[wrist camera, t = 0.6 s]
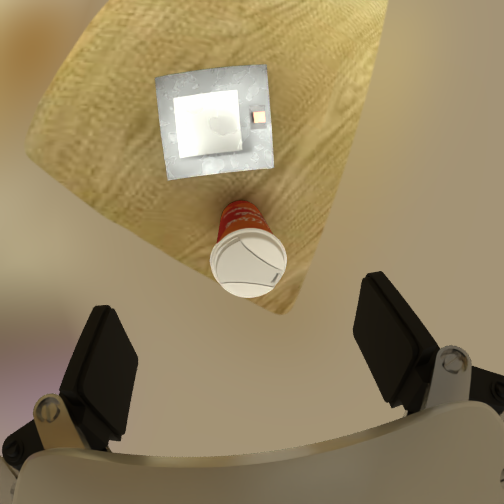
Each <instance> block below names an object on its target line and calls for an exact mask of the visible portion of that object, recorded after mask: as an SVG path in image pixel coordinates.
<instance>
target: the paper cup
mask: <svg viewBox="0 0 504 504" xmlns="http://www.w3.org/2000/svg"><path fill="white" fill-rule="evenodd" d="M286 263H287V256H286V251H285V249H284V247H283V245H282V243H281V242H280V240H279V239H278V238H277V237H276V236H274V235H273V233H272V232H271V230H270V228H269V226H268V225H267V223H266V221H265V220H264V218H263V216H262V215H261V213H260V211H259V210H258V209H257V207H256V206H255V205H253V204H252V203H250V202H248V201H235V202H232V203H231V204H229V205H228V206H227V207H226V208H225V209H224V211H223V213H222V216H221V220H220V226H219V232H218V238H217V244H216V245H215V246H214V248H213V250H212V252H211V256H210V264H211V268H212V272H213V275H214V277H215V278H216V280H217V281H218V283H219V284H220V285H221V286H222V287H223V288H224V289H225V290H227V291H228V292H229V293H231V294H233V295H236V296H239V297H245V298H252V297H258V296H261V295H264V294H266V293H268V292H269V291H271V290H272V289H273V288H275V285H276V284H277V283H278V281H279V280H280V278H281V277H282V275H283V273H284V271H285V268H286Z"/></svg>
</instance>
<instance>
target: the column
mask: <svg viewBox="0 0 504 504" xmlns="http://www.w3.org/2000/svg"><path fill="white" fill-rule="evenodd" d="M173 101H174V111H175V120H176V128H177V136H178V144H179V152H180V158H184V157H190V156H197V155H205V154H213V153H221V152H230V151H240V150H242V140H241V129H240V117H239V106H238V95H237V90H232V91H222V92H213V93H205V94H197V95H190V96H184V97H178V98H173Z"/></svg>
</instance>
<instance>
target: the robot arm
mask: <svg viewBox="0 0 504 504" xmlns="http://www.w3.org/2000/svg"><path fill="white" fill-rule="evenodd" d="M353 335H354V338H355V340H356V342H357V344H358V346H359V348H360V350H361V352H362V354H363V356H364V358H365V360H366V362H367V364H368V366H369V368H370V371H371V373H372V375H373V377H374V379H375V381H376V383H377V386H378V388H379V390H380V392H381V394H382V396H383V399H384V400H385V402H387V403H388V402H389V403H390V406H391V408H394V407H397V406H400V405H403V407H404V409H405V413H404V416H403V418H400V419H398V420H395V421H392V422H389V423H386V424H383V425H380V426H377V427H374V428H370V429H368V430H364V431H361V432H357V433H354V434H351V435H347V436H343V437H340V438H336V439H332V440H328V441H323V442H319V443H314V444H310V445H305V446H299V447H294V448H288V449H282V450H276V451H269V452H261V453H253V454H243V455H231V456H215V457H158V456H143V455H130V454H121V453H112V452H111V450H110V448H109V447H108V442H109V440H113V441H121V436H122V435H123V434H125V431H126V425H127V418H128V413H129V407H130V401H131V396H132V391H133V386H134V381H135V375H136V371H137V366H138V356H137V354H136V352H135V350H134V348H133V346H132V344H131V342H130V341H129V338H128V336H127V334H126V332H125V330H124V328H123V326H122V324H121V322H120V320H119V318H118V315H117V313H116V311H115V310H114V309H111V307H110V306H109V305H101V306H95V307H94V308H93V310H92V312H91V314H90V316H89V318H88V320H87V323H86V325H85V327H84V329H83V331H82V334H81V336H80V338H79V340H78V343H77V345H76V347H75V350H74V352H73V355H72V357H71V359H70V362H69V364H68V367H67V370H66V372H65V375H64V378H63V380H62V383H61V386H60V389H59V390H60V394H59V396H58V395H56V394H46V395H44V396H42V397H41V398H40V399H39V400H38V401H37V402H36V404H35V406H34V410H33V417H34V419H33V420H32V421H30V422H29V423H27V424H26V425H25V426H23V427H21V428H20V429H18V430H17V431H16V432H14V433H13V434H11V435H10V436H8V437H7V438H6V440H5V441H4V443H3V447H2V454H3V457H1V456H0V504H504V376H503V375H500V374H496V373H493V372H490V371H487V370H484V369H480V368H478V367H474V366H472V364H471V359H470V357H469V355H468V354H467V353H466V351H464V350H463V349H462V348H460V347H457V346H452V345H449V346H445V347H443V348H441V349H440V348H439V346H438V345H437V343H436V342H435V340H434V339H433V337H432V336H431V334H430V333H429V332H428V330H427V329H426V327H425V326H424V325H423V323H422V322H421V321H420V319H419V318H418V317H417V315H416V314H415V313H414V311H413V310H412V309H411V307H410V306H409V305H408V303H407V302H406V301H405V299H404V298H403V297H402V296H401V294H400V293H399V292H398V290H396V288H395V287H394V285H393V284H392V283H391V282H390V280H388V278H387V277H386V276H385V274H384V273H383V272H381V271H379V272H373V273H368V274H367V275H366V277H365V278H363V280H362V283H361V289H360V295H359V301H358V306H357V311H356V316H355V321H354V326H353Z"/></svg>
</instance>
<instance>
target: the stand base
mask: <svg viewBox="0 0 504 504" xmlns="http://www.w3.org/2000/svg"><path fill="white" fill-rule="evenodd" d="M155 84H156V94H157V104H158V113H159V121H160V129H161V137H162V145H163V152H164V159H165V165H166V172H167V178H168V180H174V179H181V178H188V177H195V176H202V175H210V174H218V173H227V172H236V171H245V170H256V169H267V168H274V158H273V142H272V128H271V114H270V101H269V88H268V76H267V65H245V66H231V67H221V68H211V69H203V70H196V71H189V72H183V73H177V74H171V75H166V76H161V77H156V78H155ZM232 90H237V95H238V106H239V117H240V129H241V140H242V150H240V151H230V152H221V153H213V154H205V155H197V156H190V157H184V158H180V152H179V144H178V136H177V128H176V120H175V111H174V101H173V98H178V97H184V96H190V95H197V94H205V93H213V92H222V91H232Z"/></svg>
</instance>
